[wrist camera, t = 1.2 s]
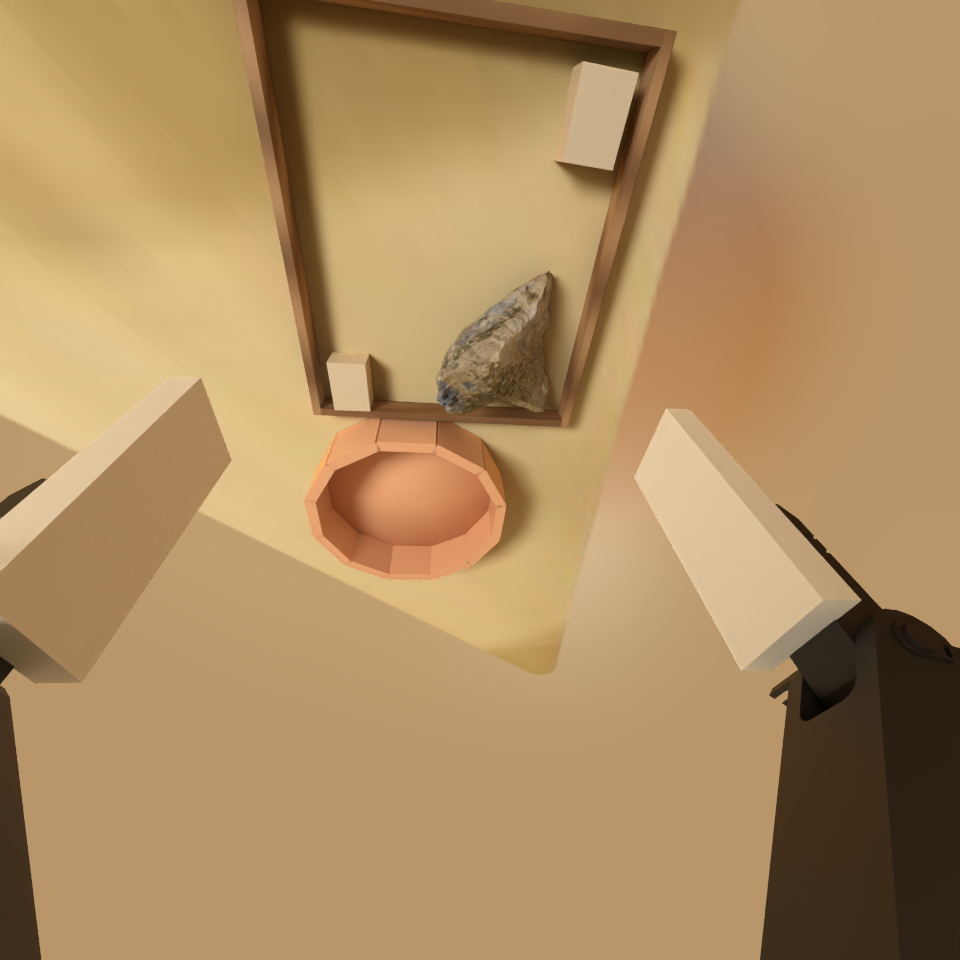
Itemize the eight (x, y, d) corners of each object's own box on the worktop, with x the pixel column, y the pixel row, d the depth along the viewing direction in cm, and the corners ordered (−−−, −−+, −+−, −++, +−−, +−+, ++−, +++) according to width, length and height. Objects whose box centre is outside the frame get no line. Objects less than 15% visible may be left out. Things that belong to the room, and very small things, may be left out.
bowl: (304, 407, 34) (288, 437, 30) (510, 418, 36) (517, 447, 32) (333, 546, 45) (324, 579, 42) (489, 548, 47) (492, 580, 44)
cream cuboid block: (332, 350, 31) (326, 362, 29) (369, 352, 31) (365, 364, 30) (340, 396, 34) (334, 410, 32) (374, 398, 34) (370, 411, 32)
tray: (240, -31, 19) (224, -45, 18) (662, 38, 21) (677, 31, 20) (319, 403, 34) (313, 414, 32) (562, 416, 36) (567, 427, 35)
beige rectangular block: (572, 68, 22) (583, 61, 20) (623, 78, 22) (639, 72, 20) (553, 160, 24) (562, 161, 23) (600, 168, 25) (612, 170, 23)
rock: (570, 269, 27) (559, 398, 34) (497, 260, 30) (500, 381, 37) (473, 322, 21) (482, 470, 27) (390, 305, 23) (417, 443, 30)
